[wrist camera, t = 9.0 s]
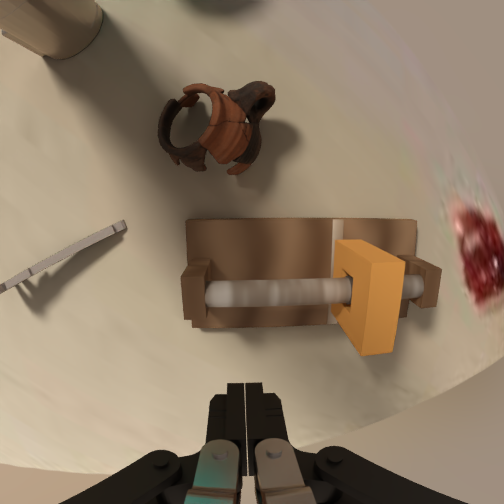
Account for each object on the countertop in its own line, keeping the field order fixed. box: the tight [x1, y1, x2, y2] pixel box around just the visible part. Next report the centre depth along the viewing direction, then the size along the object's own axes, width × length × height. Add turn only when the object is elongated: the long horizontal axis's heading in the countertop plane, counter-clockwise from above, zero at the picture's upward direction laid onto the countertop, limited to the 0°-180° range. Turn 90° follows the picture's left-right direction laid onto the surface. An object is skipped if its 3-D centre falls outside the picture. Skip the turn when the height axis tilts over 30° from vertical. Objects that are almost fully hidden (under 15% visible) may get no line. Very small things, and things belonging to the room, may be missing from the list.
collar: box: [331, 239, 405, 356], centre depth 29 cm, size 3×8×10 cm, turn 1°
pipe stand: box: [181, 218, 442, 328], centre depth 32 cm, size 26×12×8 cm, turn 91°
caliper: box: [0, 220, 127, 294], centre depth 32 cm, size 20×1×6 cm, turn 112°
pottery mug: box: [158, 81, 275, 175], centre depth 30 cm, size 12×10×8 cm
